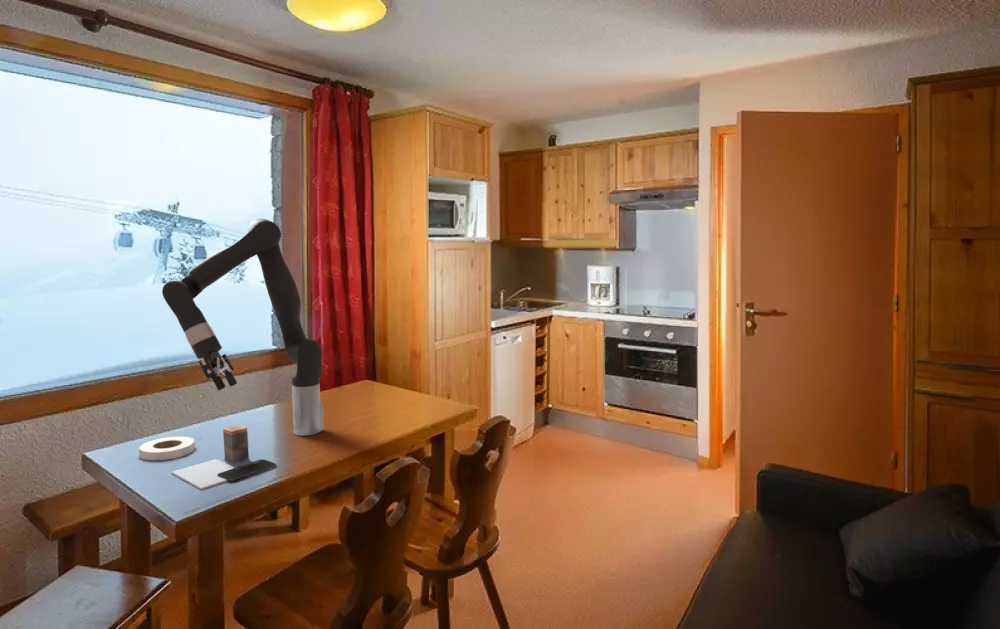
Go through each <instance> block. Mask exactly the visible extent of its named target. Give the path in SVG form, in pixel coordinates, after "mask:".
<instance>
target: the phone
mask: <svg viewBox="0 0 1000 629" xmlns="http://www.w3.org/2000/svg"><path fill="white" fill-rule="evenodd" d="M275 468H277V463H275V462H272V461H270V460H267V459H263V458H262V459H258V460H254V461H252V462H249V463H245V464H243V465H239V466H237V467H234V468H233V469H230V470H227V471H224V472H221V473H219V474H217V476H219V477H221V478H224V479H226V480H227V482H226V483H228V484H229V483H230V484H233V483H237V482H239V481H243V480H245V479H248V478H251V477H254V476H257V475H259V474H262V473H265V472H267V471H270V470H273V469H275Z"/></svg>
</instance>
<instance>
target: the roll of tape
mask: <svg viewBox="0 0 1000 629" xmlns="http://www.w3.org/2000/svg"><path fill="white" fill-rule="evenodd" d="M195 443H196V442H195V439H194V438H193V437H189V436H168V437H167V436H166V437H162V438H157V439H153V440H149V441H147V442H145V443H142V444H141V445H140V446H139V448H138V452H139V457H140V459H142V460H147V461H164V460H165V461H166V460H171V459H177V458H181V457H184V456H186V455H188V454H191V453H192V452H193V451H194V450H195V449H196V444H195Z"/></svg>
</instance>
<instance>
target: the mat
mask: <svg viewBox="0 0 1000 629" xmlns="http://www.w3.org/2000/svg"><path fill="white" fill-rule="evenodd" d="M233 468H235V467H234V466H232V465H230V464H227V463H225V462H224V461H221V460H219V459H218V458H214V459H212V460H207V461H205V462H204V461H203V462H201V463H197V464H195V465H191V466H187V467H183V468H181V469H177V470H173V471H171V475H174V476H175V477H177V478H179V479H181V480H183V481H184V482H186V483H187V484H190V485H192V486H194V487H195V488H197V489H199V490H200V491H202V490H205V489H208V488H211V487H215V486H218V485H221V484H224V483H228V482H227V480H226V479H224V478H221V477H219V476H217V474H219V473H221V472H224V471H227V470H230V469H233Z"/></svg>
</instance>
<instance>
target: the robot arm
mask: <svg viewBox="0 0 1000 629" xmlns="http://www.w3.org/2000/svg"><path fill="white" fill-rule="evenodd" d="M281 237H282V232H281V228H280V227H279V226H278V224H276V223H275V222H274V221H272V220H269V219H267V218H256V219H254V220H253V221H252V222H251V223H249V226H248V228H247V233H246V234H245V235H244V236H242V237H241V238H240V239H239V240H237V241H236V242H235V243H233V244H231V245H230V246H228V247H225V248H224V249H222V250H220V251H218V252H217V253H214V254H213V255H211V256H209V257H207V258H206V259H205V260H203V261H201V262H200V263H199V264H197V265H195V266H194V267H192V268H191V269H190V270H189V272H188V274H187V275H186V276H185V277H183V278H182V279H181V280H175V279H172V280H169V281H167V282H166V283H164V285H163V287H162V290H161V293H162V296H163V300H165V302H166V304H167V305H168V307H169V309H170V310H171V311H172V313H173V315H175V317H176V318H177V321H178V323H179V325H180V328H181V329H182V330H183V332H184V335H185V337H186V341H187V342H188V344H189V346H190V347H191V349H192V351H193V353H194V355H195V357H196V358H197V359H198V363H199V366H200V368H201V369H202V371H203V373H204V375H205V377H206V379H210V380H211V381H213V383H214V385H215V387H216V389H217V390H218V391H221V390H223V389H225V388H226V385H225V383H224V380H223V378H222V377H221V376H220V373H221V374H223V376H224V377H225V379H226V381H227V383H228V385H229V387H233V386H235V385H237V384H238V381H237V379H236V377H235V376H234V374H233V371H234V370H235V368H234V367H233V365H232V363H231V361H230V359H229V357H228V356H227V354H226V353H223V354H220V351H221V350H222V349H223V346H222V345H221V343H220V340H219V339H218V338H217V336H216V334H215V331H214V330H213V328H212V327H211V325H210V324H209V323H208V321H207V319H206V317H205V315H204V314H203V312H202V310H201V309H200V308H199V307H198V306H197V304H196V302H195V301H194V299H195V298H196V297H197V296H199V295H200V294H201V293H202V292H203V291H204V290H205V289H206V288H208V287H209V286H210V285H212V284H214V283H216V282H217V281H218V280H220V279H221V278H222V277H223V276H226V275H227V274H229V273H230V272H231V271H232V270H234V269H235V268H237V267H238V266H239V265H241V264H242V263H244V262H246V261H248V260H249V259H251V258H253V257H255V256H257V258H258V261H259V263H260V267H261V271H262V275H263V279H264V284H265V287H266V290H267V294H268V297H269V299H270V300H269V301H270V303H271V305H272V309H273V311H274V313H275V316H276V317H275V318H276V320H277V323H278V326H279V327H280V331H281V334H282V335H281V336H282V339H283V344H284V349H285V353H286V356H287V357H288V359H289V360H290V361H291V362H293V363H294V364H296V374H294V375H293V376H292V377H291V393H292V394H291V397H292V419H293V423H292V424H293V434H294V435H296V436H302V437H303V436H312V435H317V434H319V433H320V432H322V431H324V430H325V428H324V426H325V425H324V405H323V403H322V402H321V388H320V386H321V384H320V379H321V377H322V372H323V367H322V366H323V365H322V364H323V359H322V358H323V355H322V348H321V345H320V344H319V342H318V341H317V340H315V339H312V338H308V337H306V334H305V333H304V330H303V327H302V323H301V309H302V308H301V304H302V303H301V302H302V301H301V296H300V292H299V290H298V287H297V284H296V282H295V279H294V278H293V275H292V273H291V271H290V270H289V268H288V266H287V264H286V262H285V260H284V258H283V255H282V252H281V247H280V243H279V242H280V241H281Z"/></svg>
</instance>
